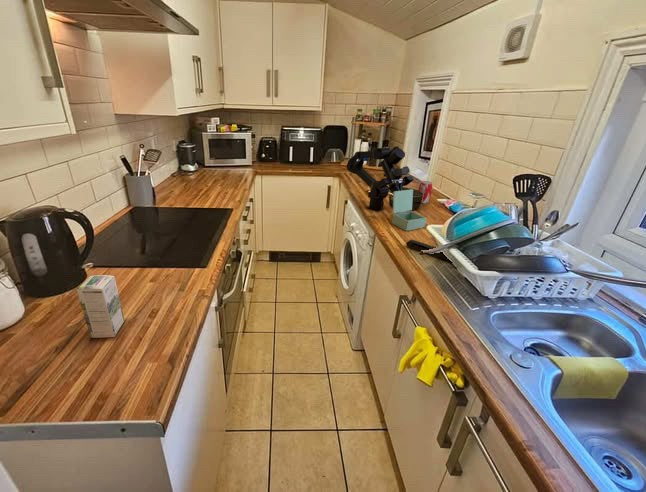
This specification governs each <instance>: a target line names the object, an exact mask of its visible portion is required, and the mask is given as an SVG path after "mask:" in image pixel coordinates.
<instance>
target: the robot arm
mask: <svg viewBox="0 0 646 492" xmlns="http://www.w3.org/2000/svg"><path fill="white" fill-rule="evenodd" d="M405 157H406V152H405V150H403V149H402V148H399V145H398V146H396V145H395V146H393V148H392V149H390V147H377V148H374V149H372V150H364V151H363V150H361V151H356V152H354V154H353V156H351V158H348V159H349V160H348V161H347V163H346V165H345V167H346V170H347V171H348V172H349V173H351V174H354V175H356V176H358V177H359V178H360V179H361V180H362V182H364V184H366V185H367V186H368V187H369V189H370V190H369V192H367V197H368V198H369V205H368V206H367V209H369V210H372V211H376V212H380V211H381V210H384V205H385V201H384V199H386V198H387V197H388V195H389V193H390V191H391V192H392V193H393V192H395V191H402V190H404V188H403V187H406V186H408V185H409V184H410V183H412V182H413V181H415V179H414V177H413V176H412V175H409V173H410V168H409V166H408V165H407V166H403V167H400V168H398V167H396V166H395V165H398V163H400V162H401V161H402V160H403V159H404V158H405ZM365 159H373V160H379V161H378V164H377V167H378V168H382V171H383V173H384V174H383V177H384V178H381V179H380V180H376V178H375V177H373V176H372V175H371V174H370V173H369V172H368V171H367V170H366V169H364V164H365ZM380 160H381V161H380Z"/></svg>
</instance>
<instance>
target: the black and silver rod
mask: <svg viewBox="0 0 646 492" xmlns="http://www.w3.org/2000/svg"><path fill="white" fill-rule="evenodd" d="M406 247H407V248H408V249H411V250H414V251H417V252H420V251H421V250H429V249H433V248H436V247H437V246H433V245H431V244H427V243H425V242H421V241H419V240H416V239H409V240H408V241H407V242H406ZM428 255H430V256H432V257H435V258H437V259H441V260H444V261H446V262H449V263H452V262H451V261H450V260H449V259H447V257H446V256H445V255H444V254H443V252H440V253H434V254H428Z"/></svg>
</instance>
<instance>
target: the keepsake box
mask: <svg viewBox="0 0 646 492" xmlns="http://www.w3.org/2000/svg"><path fill="white" fill-rule="evenodd" d="M426 222H427V217H426V216H423V215H422V214H419V213H417V212H415V211H413V210H410V211H404V212H398V213H392V218H391V224H392V225H394V226H396V227H398V228H399V229H402V230H403V231H405V232H408V231H413V230H418V229H422V228H425V227H426Z"/></svg>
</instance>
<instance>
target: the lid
mask: <svg viewBox="0 0 646 492" xmlns="http://www.w3.org/2000/svg"><path fill="white" fill-rule="evenodd" d="M413 197H414V189H412V188H410V189H403V190H402V191H395V192H392V214H396V213H402V212H408V211H413V200H414V199H413Z"/></svg>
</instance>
